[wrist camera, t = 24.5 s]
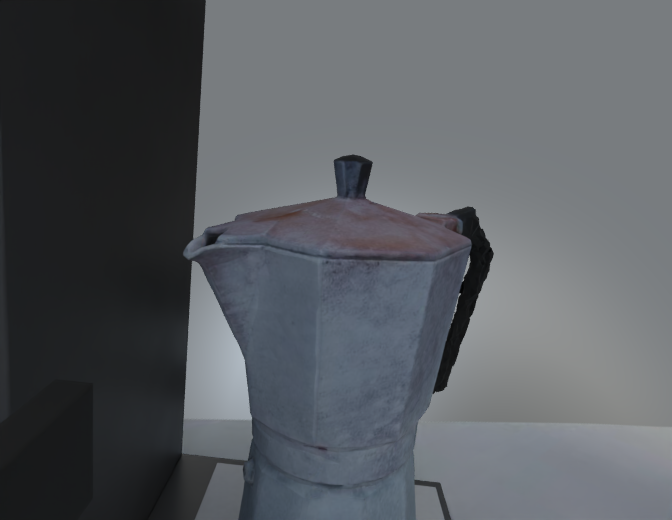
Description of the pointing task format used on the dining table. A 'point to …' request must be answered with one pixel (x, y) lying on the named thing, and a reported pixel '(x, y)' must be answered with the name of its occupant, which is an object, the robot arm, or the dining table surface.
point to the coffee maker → (110, 241)
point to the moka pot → (341, 342)
